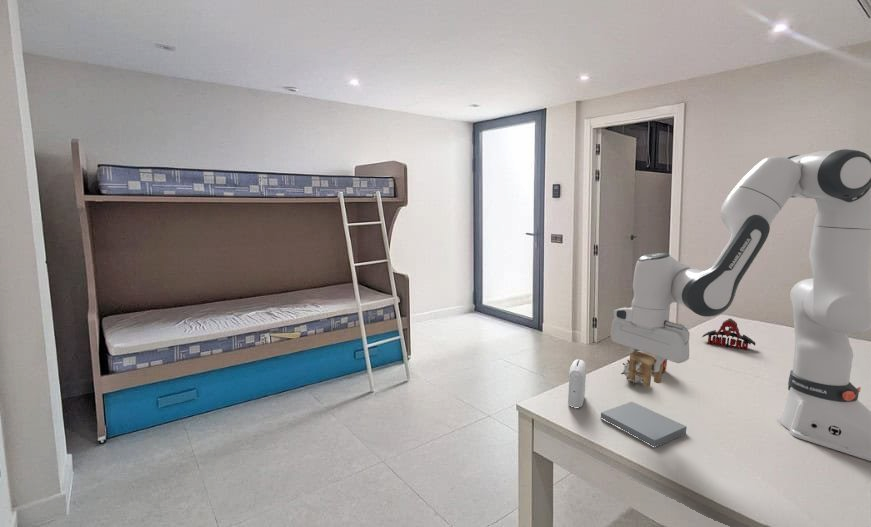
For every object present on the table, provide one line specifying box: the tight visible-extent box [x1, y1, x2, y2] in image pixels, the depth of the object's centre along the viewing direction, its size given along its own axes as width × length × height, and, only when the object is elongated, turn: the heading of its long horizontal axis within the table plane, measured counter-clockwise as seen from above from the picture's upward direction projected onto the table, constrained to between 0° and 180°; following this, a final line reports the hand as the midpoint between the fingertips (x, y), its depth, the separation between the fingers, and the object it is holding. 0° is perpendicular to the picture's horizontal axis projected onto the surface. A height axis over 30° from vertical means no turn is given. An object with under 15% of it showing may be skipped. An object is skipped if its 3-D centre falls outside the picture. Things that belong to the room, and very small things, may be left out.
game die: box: [620, 359, 644, 386], centre depth 143 cm, size 9×8×10 cm
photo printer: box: [567, 358, 587, 408], centre depth 129 cm, size 10×4×12 cm, turn 156°
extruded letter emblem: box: [701, 318, 757, 351], centre depth 177 cm, size 18×4×11 cm, turn 52°
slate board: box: [600, 401, 687, 448], centre depth 116 cm, size 16×13×2 cm
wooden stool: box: [627, 350, 663, 388], centre depth 113 cm, size 6×6×7 cm
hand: (645, 367), depth 113 cm, fingers closed on wooden stool, 4 cm apart
